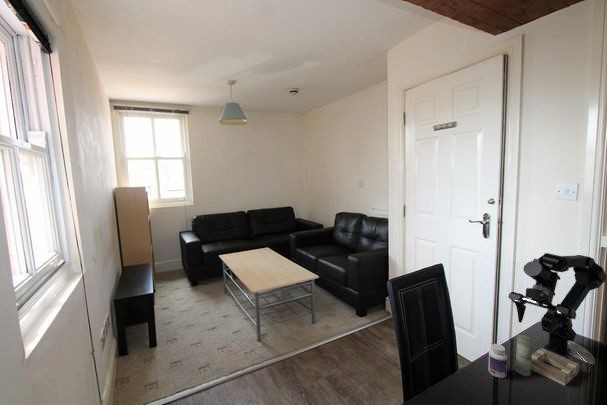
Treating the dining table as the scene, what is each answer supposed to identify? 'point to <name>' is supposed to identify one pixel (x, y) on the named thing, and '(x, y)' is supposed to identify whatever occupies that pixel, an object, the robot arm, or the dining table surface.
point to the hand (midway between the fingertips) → (534, 327)
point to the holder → (560, 376)
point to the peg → (524, 355)
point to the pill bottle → (497, 361)
